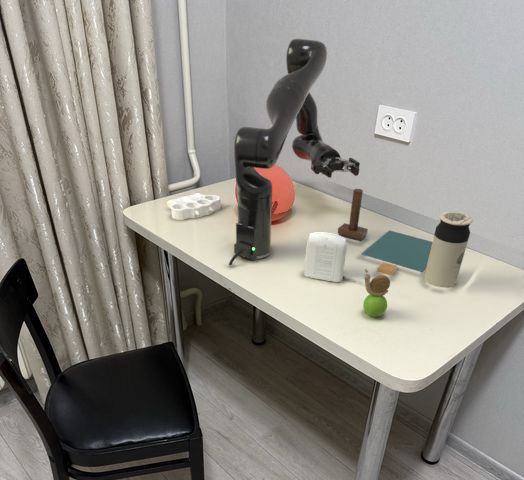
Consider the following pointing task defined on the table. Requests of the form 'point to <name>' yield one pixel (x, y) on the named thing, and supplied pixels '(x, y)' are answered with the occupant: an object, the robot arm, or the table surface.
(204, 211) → the white holed tray
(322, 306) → the table surface
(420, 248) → the tile
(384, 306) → the snail figurine
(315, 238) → the photo printer
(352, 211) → the brown post on base
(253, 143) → the robot arm
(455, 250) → the travel mug
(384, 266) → the orange square block
